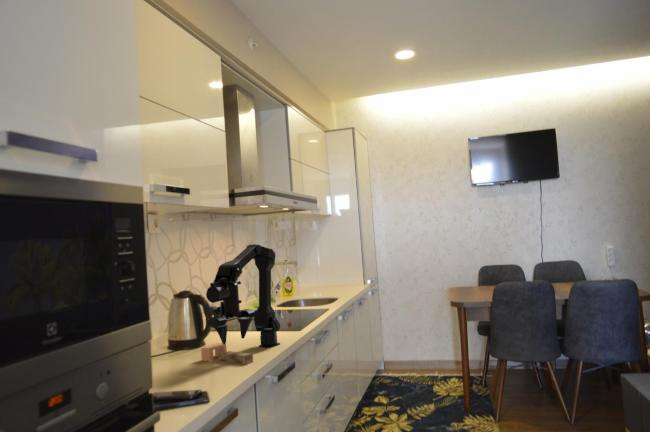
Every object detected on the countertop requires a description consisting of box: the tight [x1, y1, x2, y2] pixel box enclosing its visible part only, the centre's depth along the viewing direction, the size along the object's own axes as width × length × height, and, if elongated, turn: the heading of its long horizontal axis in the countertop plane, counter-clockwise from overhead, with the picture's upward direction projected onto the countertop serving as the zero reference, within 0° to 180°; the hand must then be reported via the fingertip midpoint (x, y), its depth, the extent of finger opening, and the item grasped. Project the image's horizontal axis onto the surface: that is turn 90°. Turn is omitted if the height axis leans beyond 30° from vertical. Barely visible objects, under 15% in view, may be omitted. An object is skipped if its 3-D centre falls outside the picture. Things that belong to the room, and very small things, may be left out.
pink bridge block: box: [200, 342, 228, 362], centre depth 179 cm, size 8×5×5 cm, turn 144°
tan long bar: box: [218, 350, 254, 365], centre depth 173 cm, size 15×3×3 cm, turn 54°
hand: (233, 341), depth 173 cm, fingers open, 9 cm apart
